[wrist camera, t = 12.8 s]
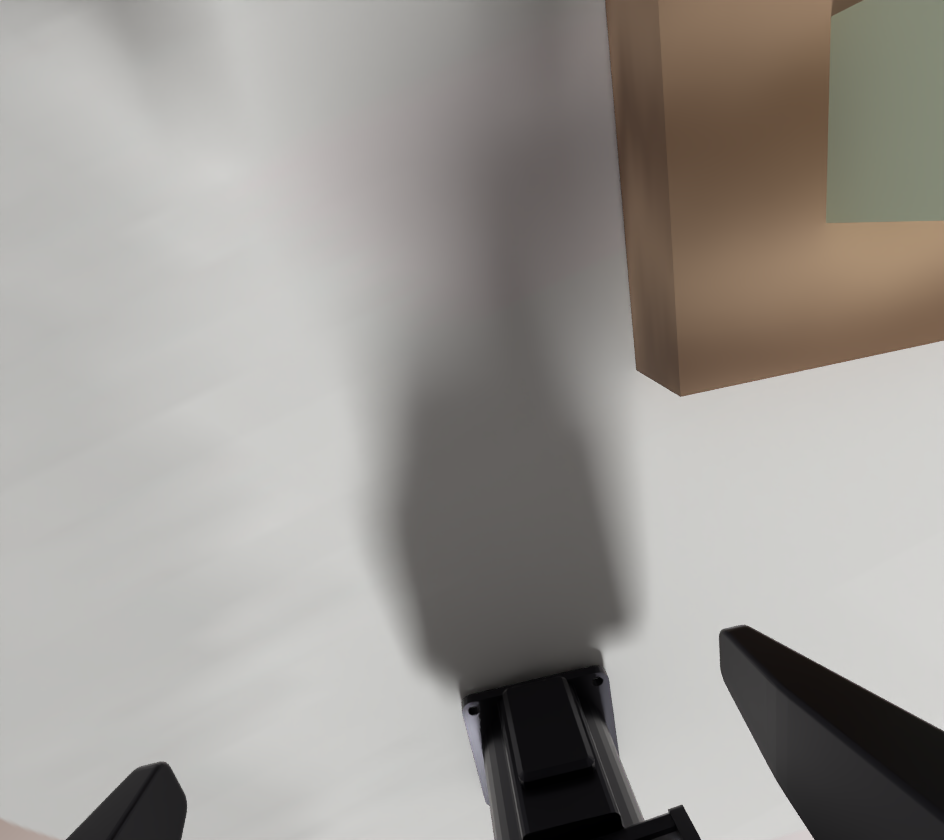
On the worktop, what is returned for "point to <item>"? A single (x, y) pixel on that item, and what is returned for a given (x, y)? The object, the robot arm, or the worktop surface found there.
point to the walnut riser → (749, 201)
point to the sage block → (886, 112)
